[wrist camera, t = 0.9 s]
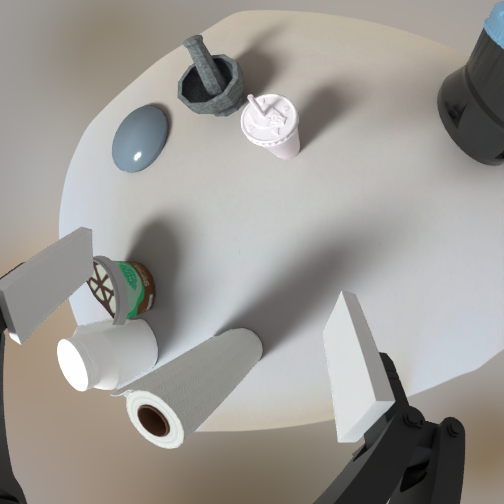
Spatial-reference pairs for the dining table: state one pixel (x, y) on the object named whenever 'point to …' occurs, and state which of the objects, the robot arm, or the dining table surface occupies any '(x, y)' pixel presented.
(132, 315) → the food container
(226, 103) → the mortar and pestle
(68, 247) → the robot arm
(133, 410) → the paper towel roll
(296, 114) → the smoothie
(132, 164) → the dish
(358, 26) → the dining table surface
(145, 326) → the jar
